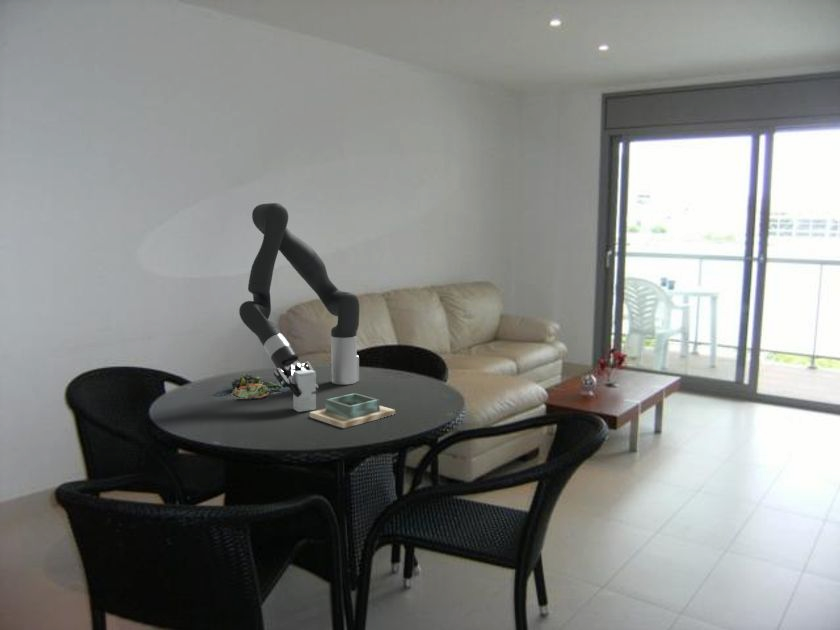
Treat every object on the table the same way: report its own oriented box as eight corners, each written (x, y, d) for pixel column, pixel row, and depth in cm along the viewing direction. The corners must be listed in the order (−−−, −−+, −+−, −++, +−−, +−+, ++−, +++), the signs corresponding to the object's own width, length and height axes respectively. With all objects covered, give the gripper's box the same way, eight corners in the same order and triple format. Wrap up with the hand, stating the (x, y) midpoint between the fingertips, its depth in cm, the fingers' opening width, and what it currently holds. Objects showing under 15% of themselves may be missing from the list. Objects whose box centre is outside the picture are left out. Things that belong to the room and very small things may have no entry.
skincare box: (298, 412, 203) (297, 373, 202) (292, 409, 207) (292, 371, 205) (317, 409, 207) (316, 371, 205) (311, 406, 210) (310, 368, 209)
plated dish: (270, 408, 210) (270, 386, 209) (190, 404, 216) (189, 382, 215) (311, 384, 244) (311, 365, 243) (241, 381, 250) (240, 362, 249)
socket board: (360, 404, 213) (360, 389, 212) (395, 414, 202) (395, 398, 201) (309, 417, 198) (309, 400, 198) (343, 428, 187) (343, 411, 187)
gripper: (269, 347, 203) (297, 390, 198) (302, 341, 214) (330, 381, 209) (257, 362, 206) (285, 405, 201) (291, 355, 218) (318, 395, 213)
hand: (308, 392), depth 205 cm, fingers closed on skincare box, 7 cm apart
